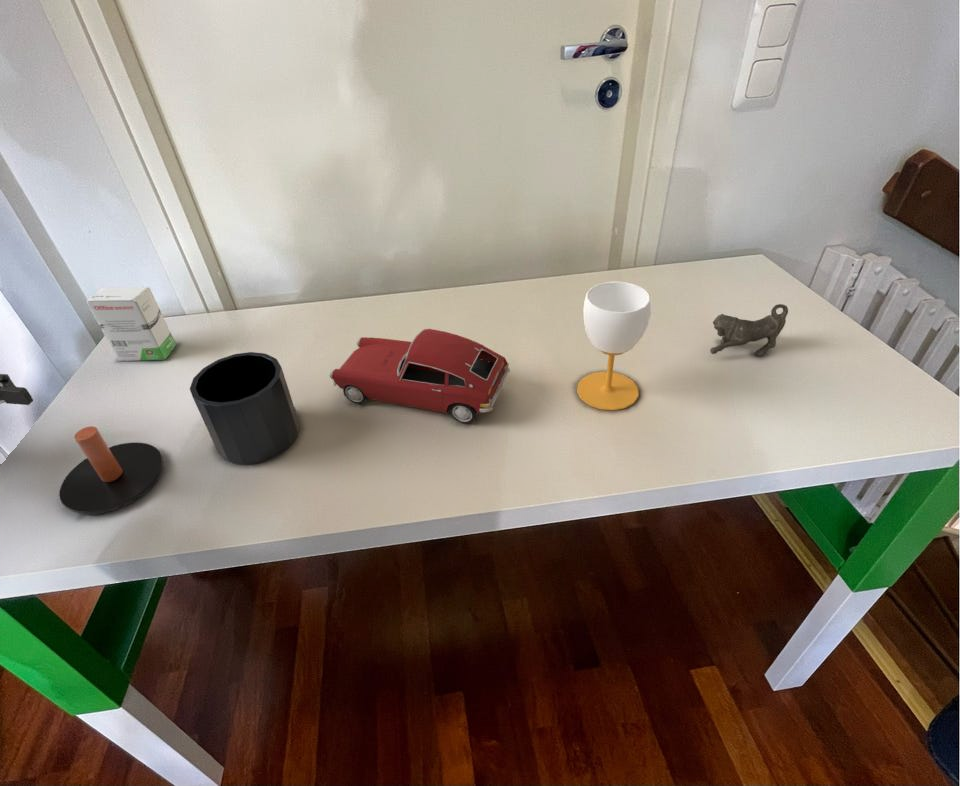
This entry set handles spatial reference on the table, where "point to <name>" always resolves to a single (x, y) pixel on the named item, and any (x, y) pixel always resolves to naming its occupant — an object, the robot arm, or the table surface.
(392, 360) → the toy car
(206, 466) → the table surface
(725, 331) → the dog figurine
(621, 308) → the cup
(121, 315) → the ink box
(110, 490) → the lid
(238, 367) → the canister
